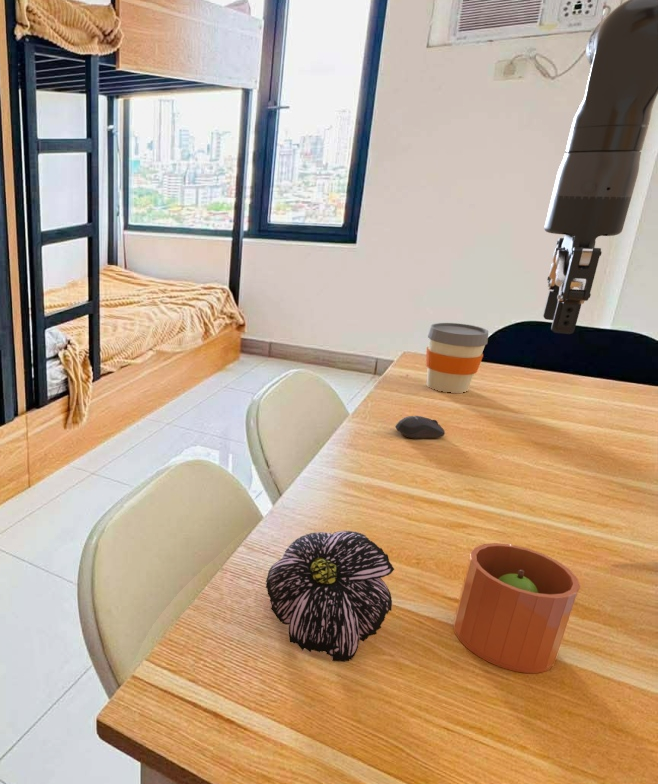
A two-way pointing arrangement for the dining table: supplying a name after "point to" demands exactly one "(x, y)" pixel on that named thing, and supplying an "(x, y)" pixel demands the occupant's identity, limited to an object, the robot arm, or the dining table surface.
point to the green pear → (519, 581)
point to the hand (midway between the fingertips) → (556, 325)
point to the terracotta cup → (515, 607)
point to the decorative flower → (331, 591)
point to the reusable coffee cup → (454, 355)
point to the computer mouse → (419, 428)
